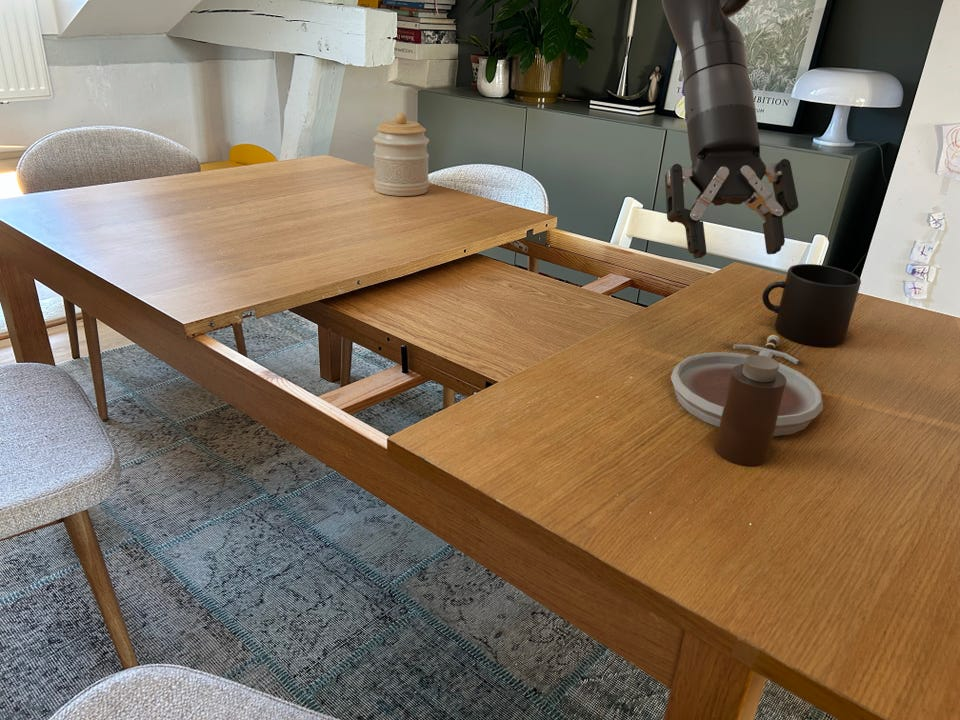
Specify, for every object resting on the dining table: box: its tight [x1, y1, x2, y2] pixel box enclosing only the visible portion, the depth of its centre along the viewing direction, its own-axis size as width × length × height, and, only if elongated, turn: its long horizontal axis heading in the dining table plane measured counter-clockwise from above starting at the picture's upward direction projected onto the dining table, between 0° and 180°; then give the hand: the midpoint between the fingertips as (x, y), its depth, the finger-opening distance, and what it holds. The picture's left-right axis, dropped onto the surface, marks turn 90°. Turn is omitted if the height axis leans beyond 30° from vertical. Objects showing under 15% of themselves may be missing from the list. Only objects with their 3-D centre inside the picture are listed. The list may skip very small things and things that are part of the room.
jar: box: [372, 112, 430, 197], centre depth 170 cm, size 13×13×18 cm
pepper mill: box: [714, 354, 787, 467], centre depth 74 cm, size 5×5×10 cm
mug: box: [762, 263, 862, 348], centre depth 104 cm, size 9×12×9 cm
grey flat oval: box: [670, 334, 824, 437], centre depth 90 cm, size 17×3×28 cm
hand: (737, 254), depth 82 cm, fingers open, 8 cm apart
